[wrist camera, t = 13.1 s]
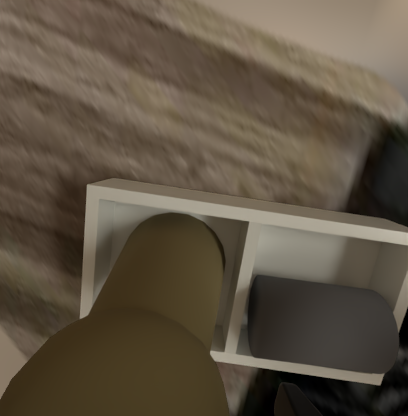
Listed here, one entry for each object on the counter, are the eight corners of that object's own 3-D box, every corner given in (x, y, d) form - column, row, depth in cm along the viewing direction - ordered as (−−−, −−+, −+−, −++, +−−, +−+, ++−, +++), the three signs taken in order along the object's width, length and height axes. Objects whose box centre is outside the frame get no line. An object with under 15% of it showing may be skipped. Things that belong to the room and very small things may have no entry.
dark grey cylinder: (376, 275, 13) (413, 361, 11) (340, 307, 16) (362, 382, 13) (262, 260, 13) (269, 342, 11) (246, 295, 16) (248, 367, 13)
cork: (246, 271, 15) (335, 563, 4) (167, 326, 16) (77, 681, 5) (181, 190, 14) (91, 305, 3) (101, 253, 15) (-170, 499, 4)
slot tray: (384, 218, 15) (432, 236, 12) (347, 340, 17) (380, 385, 14) (113, 177, 15) (87, 184, 12) (104, 304, 17) (78, 340, 14)
